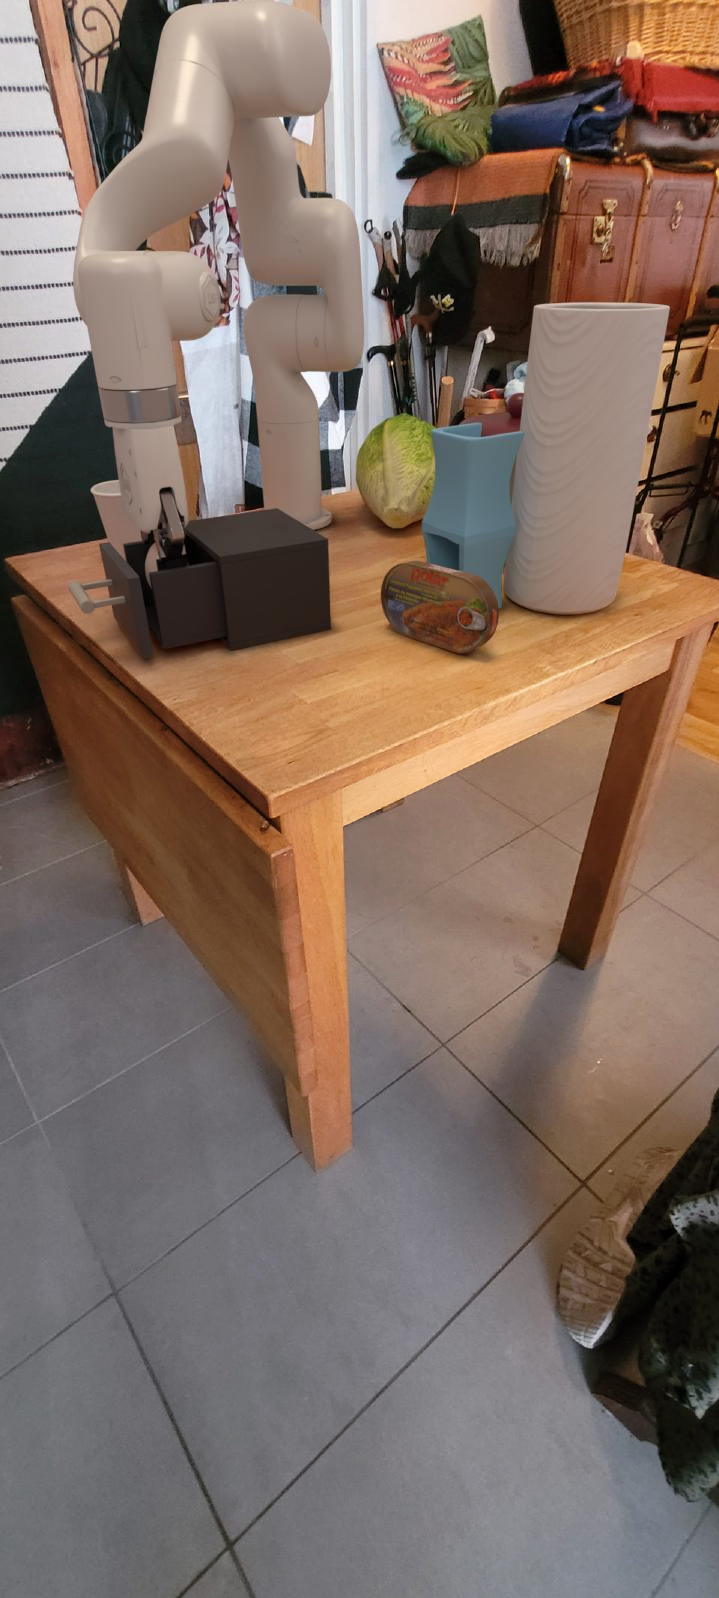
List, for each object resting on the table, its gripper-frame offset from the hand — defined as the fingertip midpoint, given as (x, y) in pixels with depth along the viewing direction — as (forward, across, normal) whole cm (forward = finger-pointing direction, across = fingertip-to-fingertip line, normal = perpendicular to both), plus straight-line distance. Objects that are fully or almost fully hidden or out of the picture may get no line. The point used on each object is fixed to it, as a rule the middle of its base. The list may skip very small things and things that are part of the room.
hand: (169, 584), depth 86 cm
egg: (+2, 0, 0) cm, 2 cm away
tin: (+6, +16, +26) cm, 31 cm away
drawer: (+5, 0, -2) cm, 6 cm away
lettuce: (+6, -30, +48) cm, 57 cm away
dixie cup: (+6, -31, +3) cm, 32 cm away
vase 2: (+6, +12, +47) cm, 49 cm away
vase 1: (+6, +8, +35) cm, 36 cm away
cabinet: (+6, 0, +10) cm, 12 cm away
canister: (+6, -6, +52) cm, 52 cm away
